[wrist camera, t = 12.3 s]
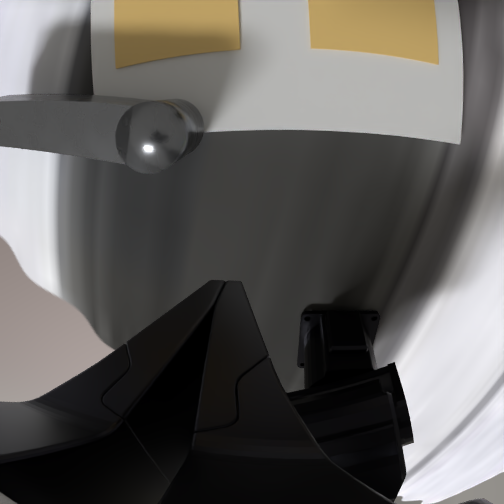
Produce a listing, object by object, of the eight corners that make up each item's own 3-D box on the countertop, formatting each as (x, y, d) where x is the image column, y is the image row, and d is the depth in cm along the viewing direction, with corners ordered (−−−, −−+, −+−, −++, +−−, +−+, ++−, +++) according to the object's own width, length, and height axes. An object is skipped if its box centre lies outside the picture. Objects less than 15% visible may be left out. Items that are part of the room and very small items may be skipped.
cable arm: (209, 103, 16) (188, 106, 13) (198, 161, 18) (176, 180, 15) (9, 91, 16) (-28, 98, 13) (7, 134, 18) (-28, 147, 14)
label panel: (452, 151, 17) (462, 156, 16) (107, 151, 20) (97, 155, 19) (443, -40, 10) (452, -46, 9) (100, -30, 13) (89, -35, 12)
